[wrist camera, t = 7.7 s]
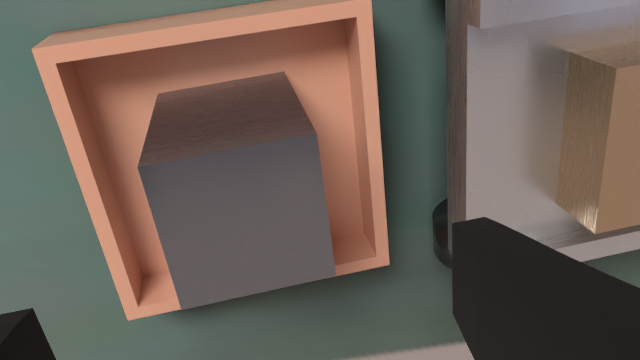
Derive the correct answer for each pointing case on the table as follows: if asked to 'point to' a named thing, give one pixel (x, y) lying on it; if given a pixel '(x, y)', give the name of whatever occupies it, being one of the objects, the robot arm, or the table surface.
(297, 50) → the tray
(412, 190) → the table surface
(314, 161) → the grey matte cube
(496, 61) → the trolley
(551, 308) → the robot arm
